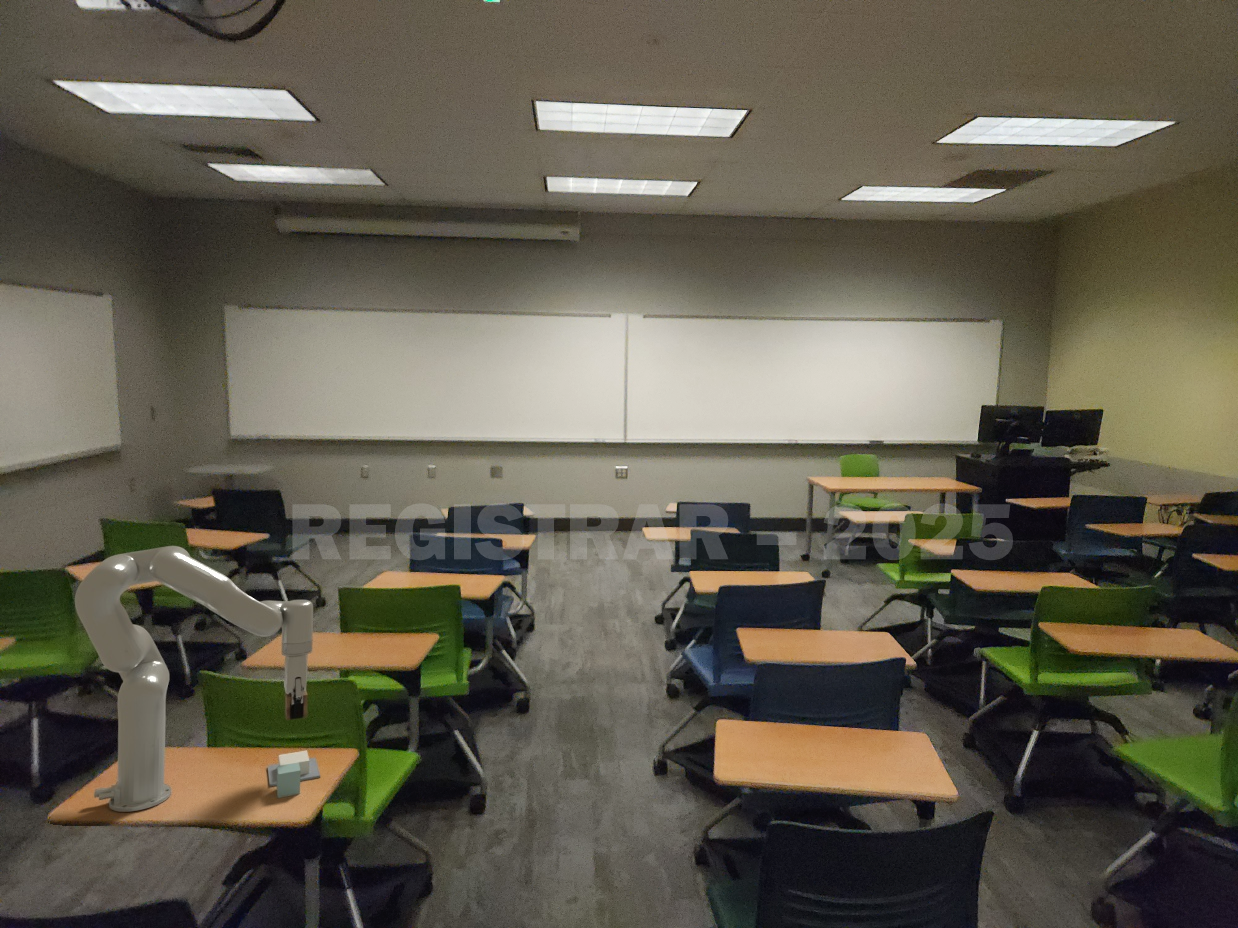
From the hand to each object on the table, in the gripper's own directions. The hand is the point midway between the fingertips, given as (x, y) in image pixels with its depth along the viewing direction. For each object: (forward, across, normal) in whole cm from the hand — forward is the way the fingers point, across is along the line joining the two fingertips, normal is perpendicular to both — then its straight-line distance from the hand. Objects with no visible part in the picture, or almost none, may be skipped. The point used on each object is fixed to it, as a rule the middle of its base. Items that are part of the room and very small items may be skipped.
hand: (295, 713), depth 186 cm
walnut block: (+1, 0, 0) cm, 1 cm away
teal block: (+16, +10, -2) cm, 19 cm away
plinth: (+16, 0, 0) cm, 16 cm away
